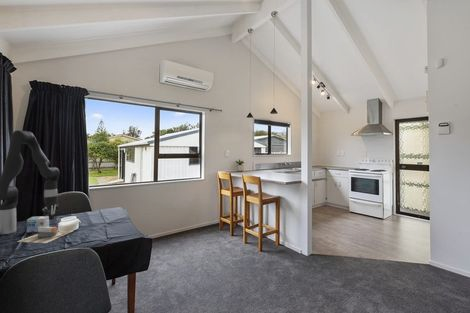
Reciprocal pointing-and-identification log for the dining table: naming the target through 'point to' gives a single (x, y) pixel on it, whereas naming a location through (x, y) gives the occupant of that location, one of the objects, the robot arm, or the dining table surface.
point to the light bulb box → (37, 223)
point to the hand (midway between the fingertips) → (51, 219)
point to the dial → (46, 232)
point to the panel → (44, 240)
